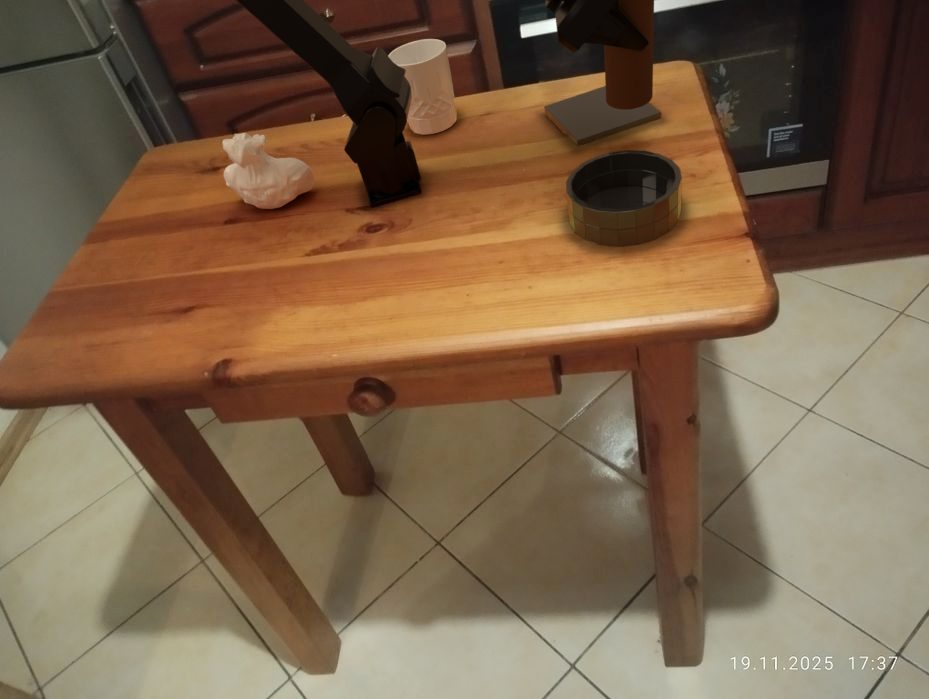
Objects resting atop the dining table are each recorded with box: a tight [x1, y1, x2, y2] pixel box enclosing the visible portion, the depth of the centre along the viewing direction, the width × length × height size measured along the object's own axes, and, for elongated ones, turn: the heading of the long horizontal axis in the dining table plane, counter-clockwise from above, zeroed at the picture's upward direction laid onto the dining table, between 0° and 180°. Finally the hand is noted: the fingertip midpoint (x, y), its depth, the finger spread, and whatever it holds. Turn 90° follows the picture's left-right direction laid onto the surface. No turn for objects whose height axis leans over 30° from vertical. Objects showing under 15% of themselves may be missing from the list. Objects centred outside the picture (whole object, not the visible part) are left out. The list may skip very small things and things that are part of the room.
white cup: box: [387, 38, 458, 136], centre depth 91 cm, size 8×8×10 cm
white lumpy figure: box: [221, 132, 315, 210], centre depth 84 cm, size 12×8×11 cm
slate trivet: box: [543, 85, 662, 147], centre depth 86 cm, size 11×11×1 cm
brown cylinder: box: [603, 0, 655, 110], centre depth 70 cm, size 5×5×13 cm
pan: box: [565, 149, 683, 247], centre depth 69 cm, size 11×11×4 cm
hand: (641, 35), depth 70 cm, fingers closed on brown cylinder, 5 cm apart
